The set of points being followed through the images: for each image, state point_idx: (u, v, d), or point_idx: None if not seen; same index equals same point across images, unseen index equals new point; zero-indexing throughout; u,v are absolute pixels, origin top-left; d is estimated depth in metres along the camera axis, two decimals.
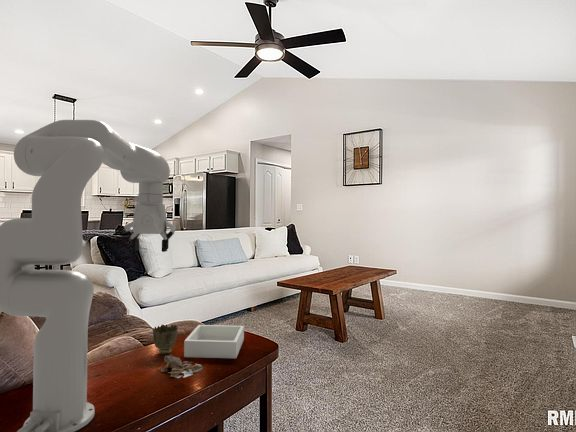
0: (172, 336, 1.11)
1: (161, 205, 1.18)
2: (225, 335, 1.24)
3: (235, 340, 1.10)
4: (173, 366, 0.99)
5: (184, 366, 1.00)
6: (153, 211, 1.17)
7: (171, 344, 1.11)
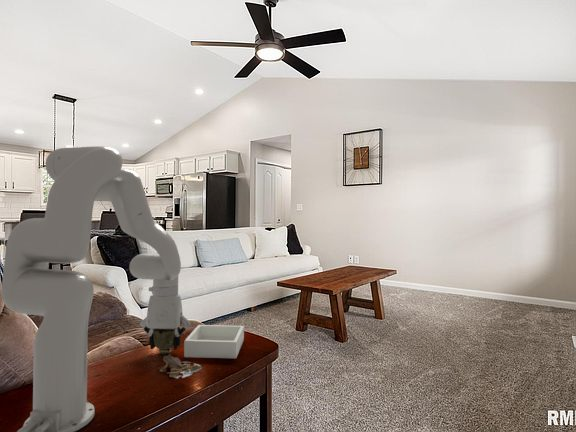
0: (172, 336, 1.11)
1: (177, 298, 1.11)
2: (225, 335, 1.24)
3: (235, 340, 1.10)
4: (172, 366, 0.99)
5: (183, 366, 1.00)
6: (168, 305, 1.10)
7: (171, 344, 1.11)
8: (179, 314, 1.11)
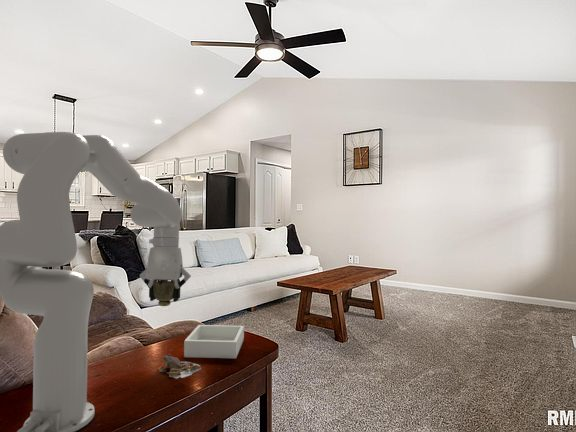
0: (172, 288, 1.10)
1: (177, 249, 1.11)
2: (225, 335, 1.24)
3: (235, 340, 1.10)
4: (172, 366, 0.99)
5: (183, 366, 1.00)
6: (168, 255, 1.10)
7: (171, 296, 1.10)
8: (179, 265, 1.11)
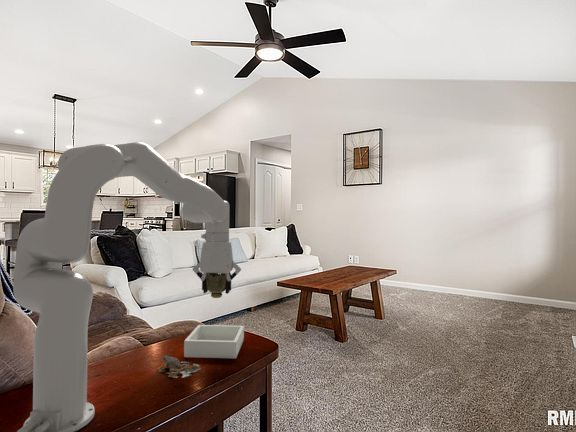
0: (224, 280, 1.15)
1: (229, 244, 1.15)
2: (225, 335, 1.24)
3: (235, 340, 1.10)
4: (171, 366, 0.99)
5: (182, 366, 1.00)
6: (221, 250, 1.14)
7: (223, 288, 1.16)
8: (231, 259, 1.16)
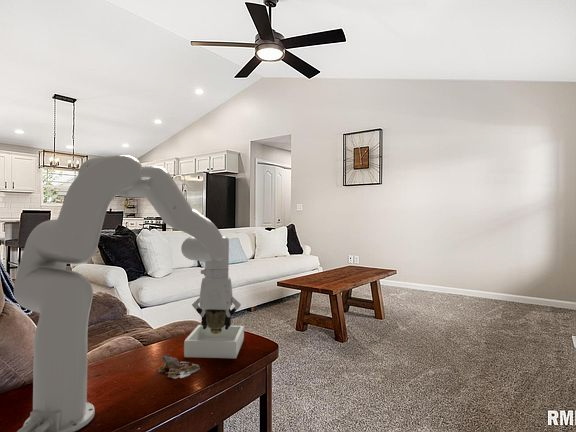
0: (224, 316, 1.15)
1: (228, 280, 1.15)
2: (225, 335, 1.24)
3: (235, 340, 1.10)
4: (170, 366, 0.99)
5: (181, 366, 1.00)
6: (220, 286, 1.14)
7: (223, 324, 1.16)
8: (230, 295, 1.16)
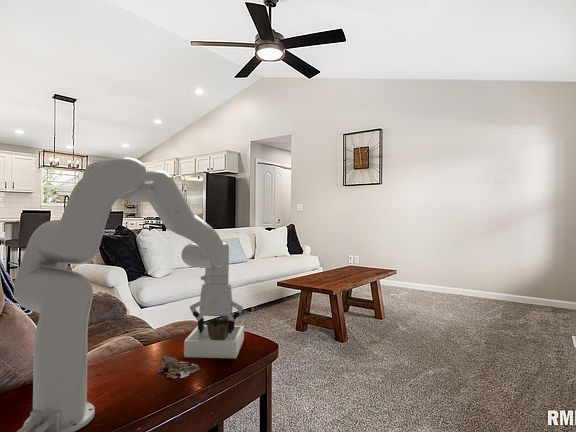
0: (226, 328, 1.15)
1: (228, 286, 1.15)
2: None
3: (235, 340, 1.10)
4: (170, 366, 0.99)
5: (181, 366, 1.00)
6: (220, 293, 1.14)
7: (225, 336, 1.16)
8: (230, 302, 1.16)
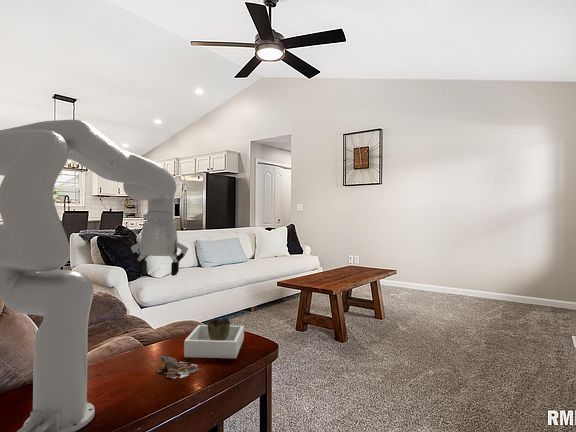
0: (226, 329, 1.15)
1: (171, 224, 1.07)
2: None
3: (235, 340, 1.10)
4: (169, 367, 0.99)
5: (180, 366, 1.00)
6: (162, 230, 1.06)
7: (225, 336, 1.16)
8: (173, 241, 1.07)
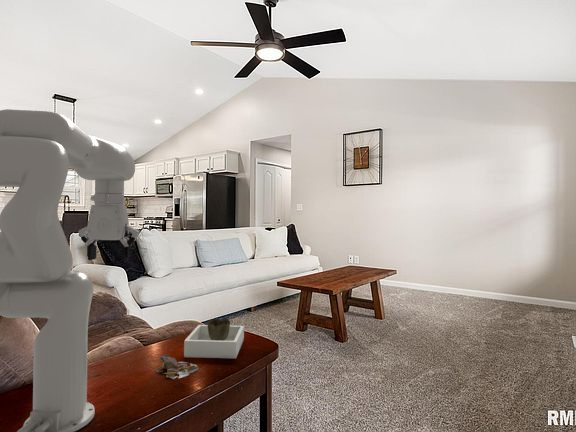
0: (226, 329, 1.15)
1: (121, 206, 1.01)
2: None
3: (235, 340, 1.10)
4: (169, 367, 0.99)
5: (180, 366, 1.00)
6: (111, 213, 1.00)
7: (225, 336, 1.16)
8: (123, 224, 1.01)
